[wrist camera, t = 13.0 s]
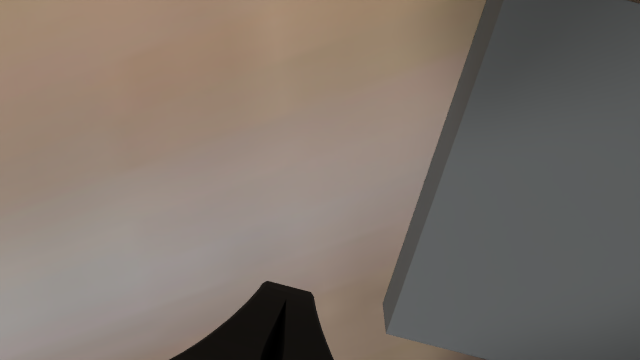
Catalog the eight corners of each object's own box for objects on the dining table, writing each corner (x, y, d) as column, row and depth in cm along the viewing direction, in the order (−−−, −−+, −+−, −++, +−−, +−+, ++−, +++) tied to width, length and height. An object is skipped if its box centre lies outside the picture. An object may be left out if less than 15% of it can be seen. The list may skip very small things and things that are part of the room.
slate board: (605, 361, 24) (632, 396, 22) (382, 303, 24) (386, 333, 22) (773, 52, 19) (833, 55, 17) (494, -22, 19) (514, -30, 17)
